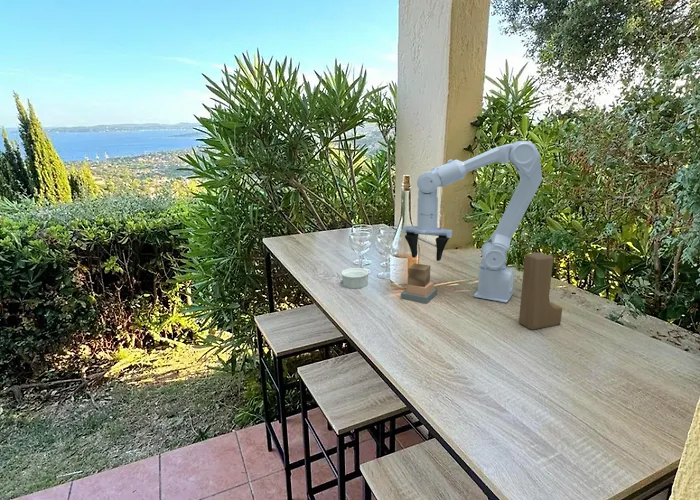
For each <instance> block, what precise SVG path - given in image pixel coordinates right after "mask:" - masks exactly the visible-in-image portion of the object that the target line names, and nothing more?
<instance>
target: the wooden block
mask: <svg viewBox="0 0 700 500" xmlns="http://www.w3.org/2000/svg"><path fill="white" fill-rule="evenodd" d="M553 264H554V256H553V255H549V254H546V253H542V252H531V253H526V254H525V255H524V262H523V275H522V284H521V293H520V305H519V306H520V307H519V316H518V323H519V324H520V325H522V326H524V327H525V328H527V329H529V330H531V331H533V330H538V329H543V328H547V327H553V326H557V325H561V321H562V316H563V315H562V314H563V307H561V306H559V305H557V304H555V303H553V302H551V301H550V292H551V284H552V283H551V282H552V274H553V266H554V265H553Z"/></svg>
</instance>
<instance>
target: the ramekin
mask: <svg viewBox="0 0 700 500" xmlns="http://www.w3.org/2000/svg"><path fill="white" fill-rule="evenodd" d="M369 274H370V273H369V270H368V269H365V268H363V267H351V268H350V267H349V268H346V269H343V270H342V271H341V279H342V285H343V286H344V287H345V288H348V289H355V290H356V289H361V288H365V287H367V285H368V281H369Z"/></svg>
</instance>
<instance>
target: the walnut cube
mask: <svg viewBox="0 0 700 500" xmlns="http://www.w3.org/2000/svg"><path fill="white" fill-rule="evenodd" d="M407 270H408V271H407V284H408V285H414V286H420V287H425V286H426V285H427V284H428V283H429V282H431V265H428V264H421V263H413V264H412V265H410V266H409V267H408V269H407Z"/></svg>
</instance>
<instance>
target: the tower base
mask: <svg viewBox="0 0 700 500" xmlns="http://www.w3.org/2000/svg"><path fill="white" fill-rule="evenodd" d="M437 295H438V288H435V287H434V291H432V292H431V293H430V294H428V295H427V296H425V297H424V296H420V295H415V294H411V293H407V292H406V289H405V290H403V291H402V292H401V293H400V299H401V300H404V301H405V300H406V301H410V302H415V303H419V304H420V303H421V304H424V305H425V304H426V305H427V304H429V303H430V302H431V301H432V300H433V299H434V298H435V297H436V296H437Z"/></svg>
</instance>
